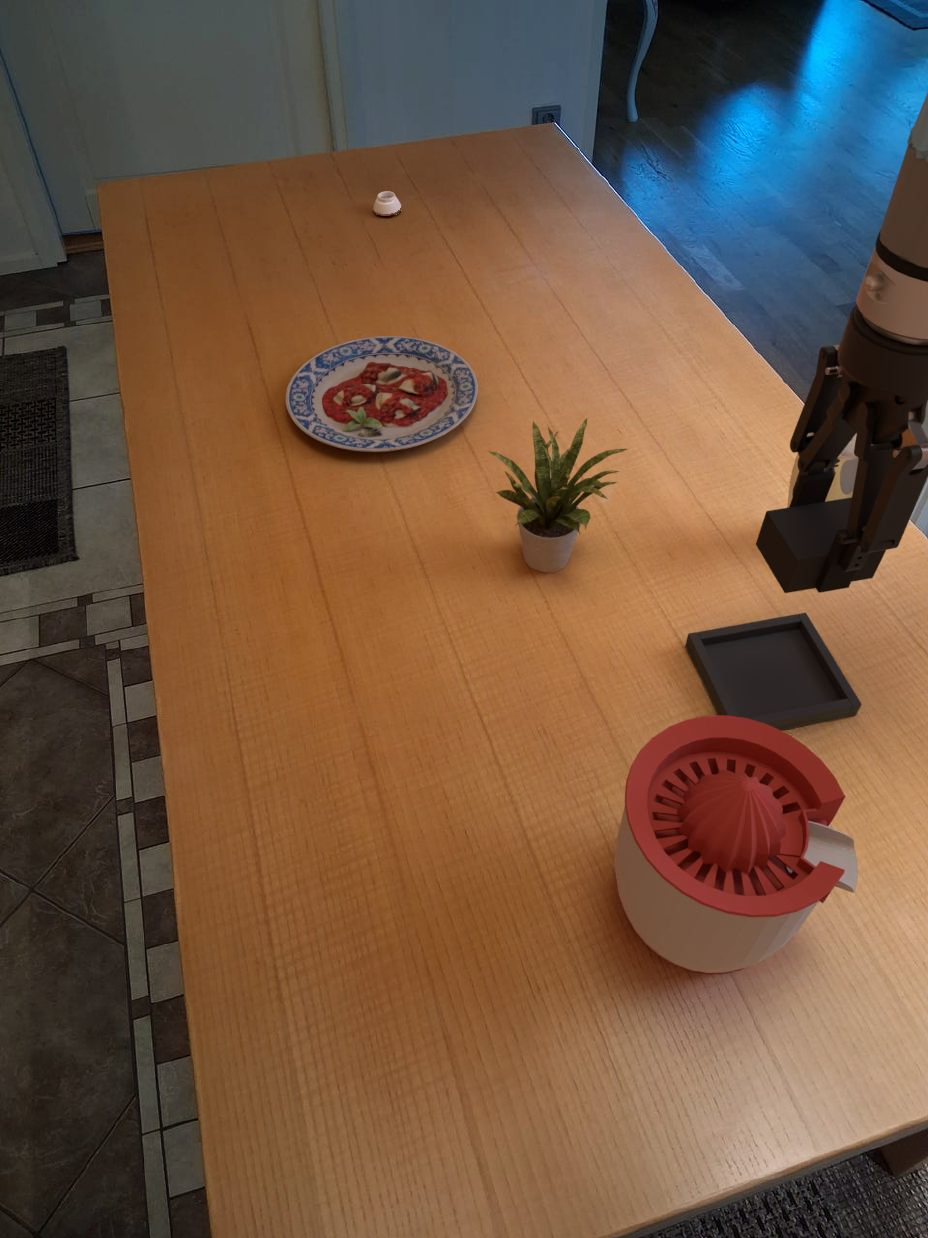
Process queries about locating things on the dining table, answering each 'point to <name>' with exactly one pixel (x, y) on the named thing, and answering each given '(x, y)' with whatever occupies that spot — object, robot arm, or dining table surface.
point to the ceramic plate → (381, 393)
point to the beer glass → (835, 474)
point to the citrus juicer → (727, 842)
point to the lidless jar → (386, 203)
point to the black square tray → (772, 673)
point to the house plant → (553, 500)
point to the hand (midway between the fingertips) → (813, 558)
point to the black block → (806, 543)
